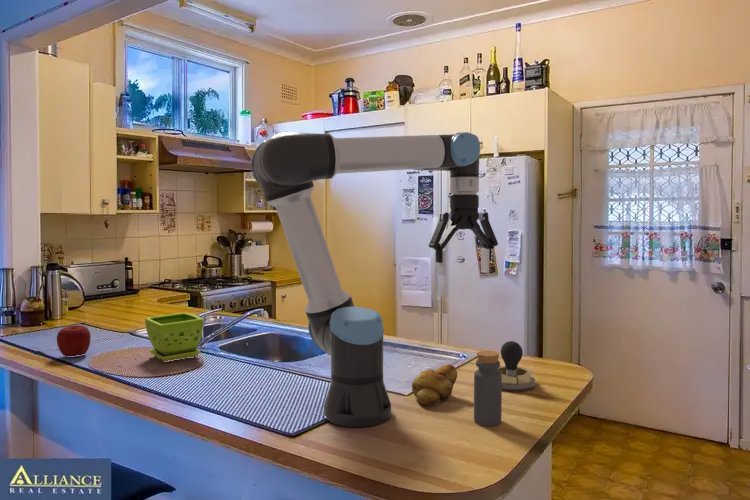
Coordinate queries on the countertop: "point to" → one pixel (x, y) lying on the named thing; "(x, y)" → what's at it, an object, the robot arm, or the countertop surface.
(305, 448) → the countertop surface
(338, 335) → the robot arm
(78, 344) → the apple
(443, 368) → the bread roll
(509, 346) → the light bulb
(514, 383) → the octagonal rimmed dish
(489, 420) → the bottle
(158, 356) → the flower pot
